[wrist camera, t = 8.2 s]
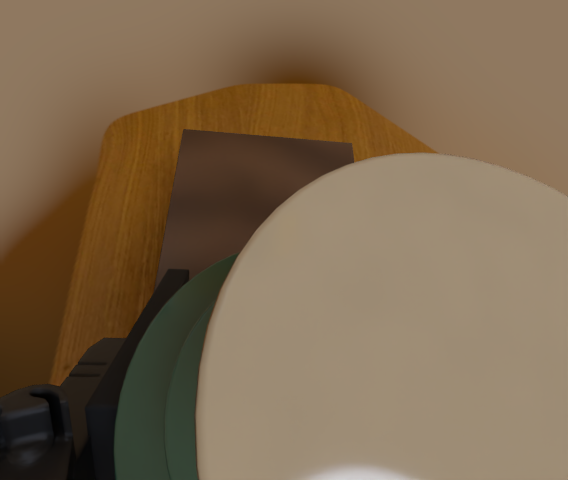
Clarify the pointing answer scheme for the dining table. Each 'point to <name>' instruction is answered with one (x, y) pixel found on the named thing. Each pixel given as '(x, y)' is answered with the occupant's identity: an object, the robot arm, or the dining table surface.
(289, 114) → the dining table surface
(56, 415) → the robot arm
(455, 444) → the oil bottle
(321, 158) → the cabinet
